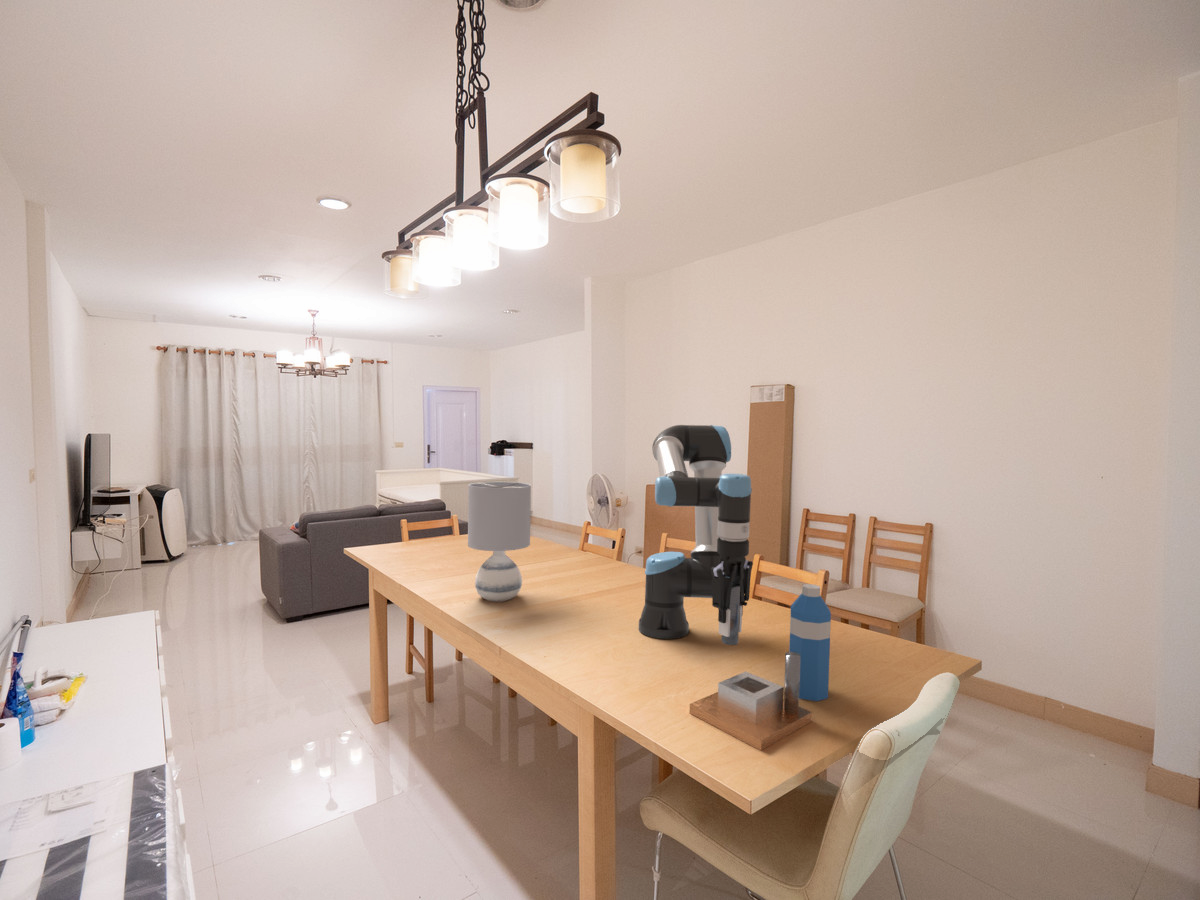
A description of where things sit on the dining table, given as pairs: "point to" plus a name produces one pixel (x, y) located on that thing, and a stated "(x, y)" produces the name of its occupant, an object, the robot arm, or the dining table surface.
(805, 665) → the water bottle
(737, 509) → the robot arm
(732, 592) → the square metal peg
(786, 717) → the peg insertion fixture
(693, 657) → the dining table surface
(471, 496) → the lamp
